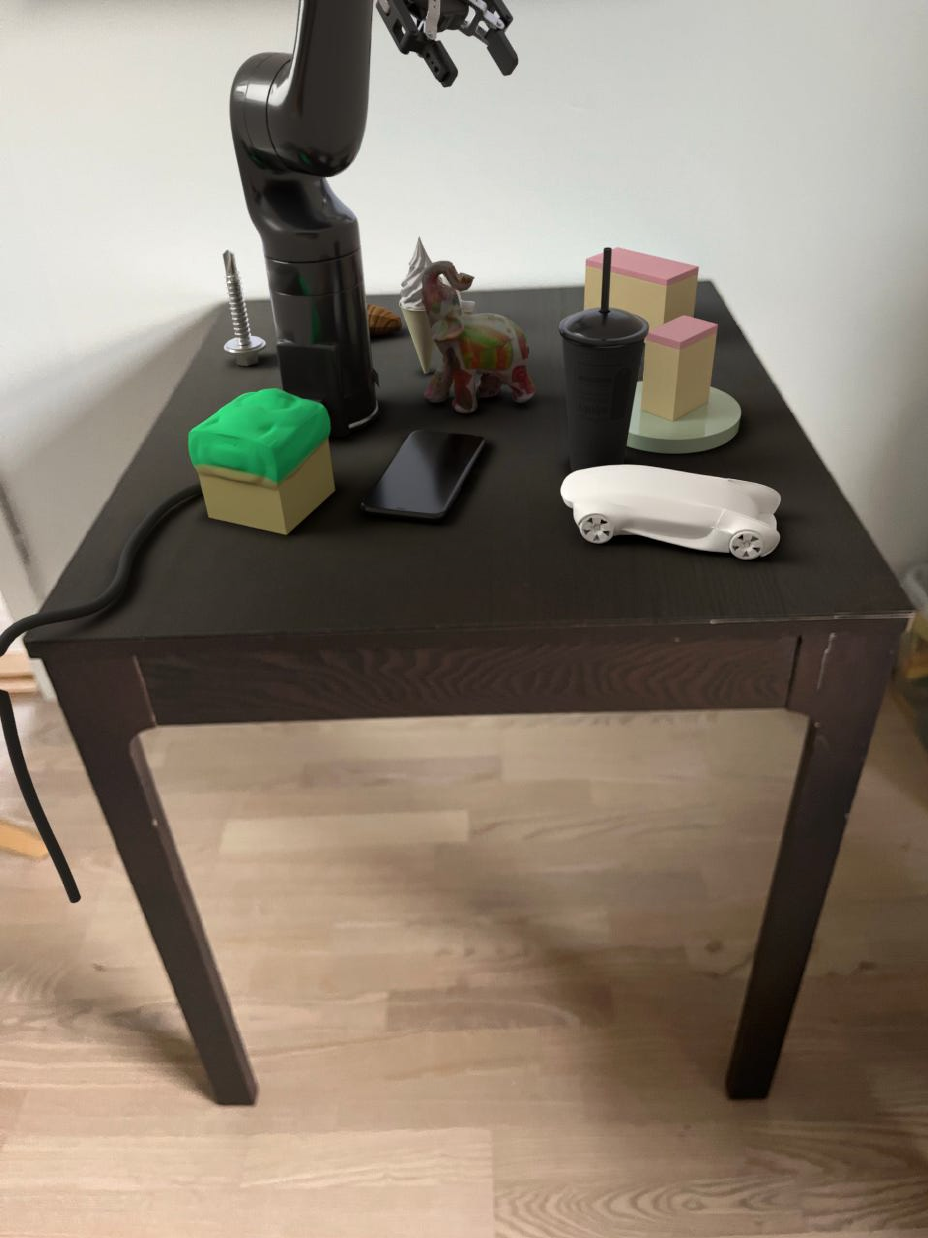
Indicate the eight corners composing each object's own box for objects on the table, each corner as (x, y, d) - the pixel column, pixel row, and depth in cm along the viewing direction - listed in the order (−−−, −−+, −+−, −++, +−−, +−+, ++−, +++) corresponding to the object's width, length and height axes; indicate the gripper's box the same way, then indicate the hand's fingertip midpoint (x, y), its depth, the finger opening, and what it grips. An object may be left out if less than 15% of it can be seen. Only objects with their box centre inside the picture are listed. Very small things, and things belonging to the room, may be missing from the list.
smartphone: (412, 436, 97) (356, 516, 85) (411, 428, 97) (355, 507, 85) (488, 443, 96) (443, 525, 83) (488, 434, 95) (442, 516, 83)
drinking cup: (645, 454, 93) (662, 237, 81) (629, 492, 87) (645, 265, 75) (567, 444, 95) (573, 232, 83) (546, 481, 89) (549, 259, 77)
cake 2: (692, 333, 117) (699, 266, 112) (661, 348, 113) (667, 279, 109) (614, 311, 124) (617, 246, 119) (583, 324, 121) (585, 258, 116)
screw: (275, 362, 115) (239, 373, 112) (255, 350, 118) (219, 361, 115) (257, 248, 107) (217, 258, 104) (236, 240, 110) (197, 249, 107)
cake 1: (351, 483, 90) (338, 381, 84) (289, 540, 83) (270, 433, 77) (263, 466, 94) (245, 367, 88) (196, 519, 86) (171, 415, 80)
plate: (734, 460, 91) (736, 445, 90) (586, 445, 94) (587, 431, 94) (743, 398, 102) (745, 385, 101) (610, 387, 105) (611, 374, 104)
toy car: (777, 514, 83) (785, 466, 80) (776, 564, 77) (785, 514, 74) (569, 493, 87) (570, 448, 84) (552, 539, 81) (553, 492, 78)
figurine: (435, 385, 107) (427, 245, 98) (540, 394, 104) (542, 251, 95) (413, 414, 102) (402, 269, 93) (523, 425, 99) (523, 276, 90)
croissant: (289, 344, 119) (283, 304, 116) (302, 324, 124) (296, 285, 121) (398, 344, 118) (395, 303, 115) (406, 324, 123) (403, 284, 120)
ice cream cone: (448, 381, 108) (441, 242, 99) (402, 382, 108) (391, 244, 99) (449, 363, 112) (443, 228, 103) (405, 364, 112) (395, 230, 103)
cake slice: (708, 401, 98) (718, 324, 93) (673, 421, 95) (680, 342, 90) (676, 391, 100) (683, 314, 95) (640, 409, 97) (646, 331, 92)
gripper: (359, -93, 91) (448, 56, 91) (468, -99, 99) (550, 38, 99) (331, -26, 97) (414, 113, 97) (436, -37, 105) (513, 92, 105)
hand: (483, 75), depth 98 cm, fingers open, 8 cm apart
